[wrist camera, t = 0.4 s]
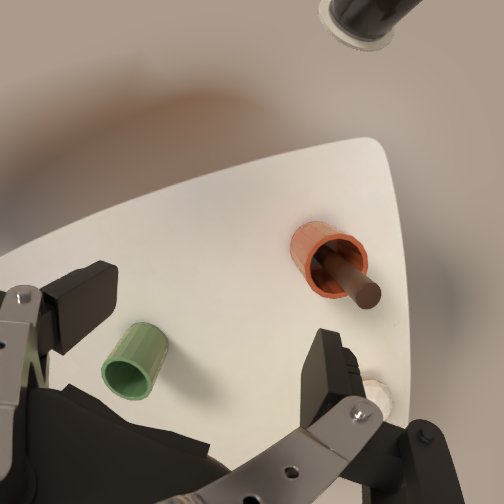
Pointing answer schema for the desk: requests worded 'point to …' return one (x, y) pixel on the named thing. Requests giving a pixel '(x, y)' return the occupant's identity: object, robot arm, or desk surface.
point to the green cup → (135, 362)
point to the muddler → (347, 276)
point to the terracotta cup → (308, 244)
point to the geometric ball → (379, 396)
